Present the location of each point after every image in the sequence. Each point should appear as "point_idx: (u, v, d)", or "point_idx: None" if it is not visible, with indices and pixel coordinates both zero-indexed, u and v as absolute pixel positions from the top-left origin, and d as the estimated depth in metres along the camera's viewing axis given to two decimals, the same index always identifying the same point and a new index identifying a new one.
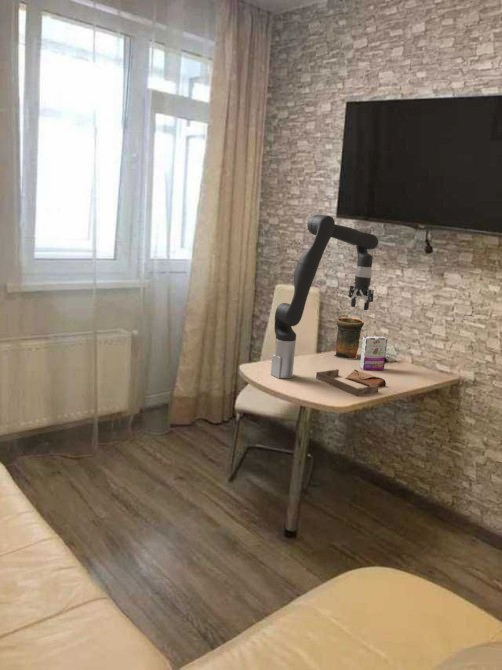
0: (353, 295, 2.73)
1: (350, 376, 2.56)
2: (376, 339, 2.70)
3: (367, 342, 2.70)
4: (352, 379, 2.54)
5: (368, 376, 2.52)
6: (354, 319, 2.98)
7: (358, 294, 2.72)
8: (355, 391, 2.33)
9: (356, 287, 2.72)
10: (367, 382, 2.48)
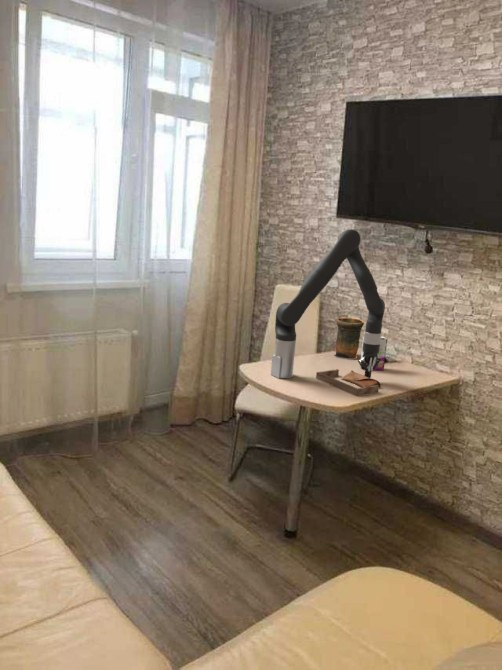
0: None
1: (345, 377, 2.55)
2: None
3: None
4: (347, 380, 2.52)
5: (362, 377, 2.50)
6: (354, 319, 2.98)
7: None
8: (355, 391, 2.33)
9: None
10: (361, 383, 2.46)
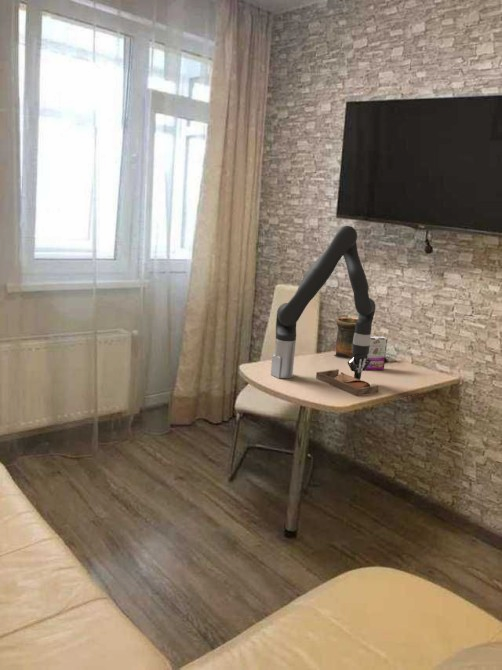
0: None
1: None
2: (376, 339, 2.70)
3: None
4: None
5: (352, 379, 2.45)
6: (354, 319, 2.98)
7: None
8: (355, 391, 2.33)
9: None
10: (351, 385, 2.42)
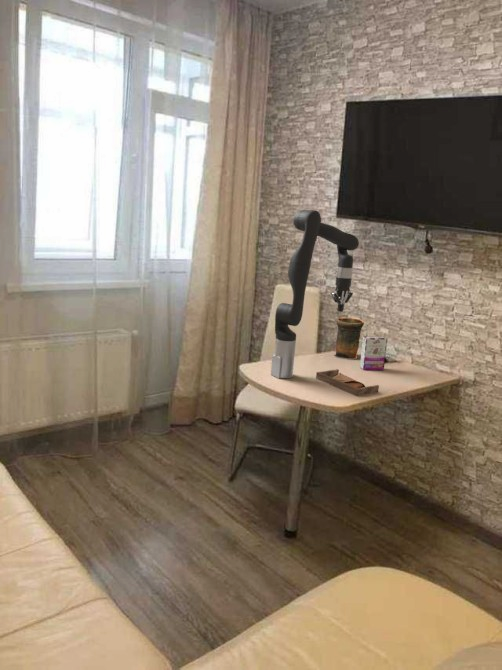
0: (340, 297, 2.75)
1: None
2: (376, 339, 2.70)
3: (367, 342, 2.70)
4: None
5: (348, 379, 2.44)
6: (354, 319, 2.98)
7: None
8: (355, 391, 2.33)
9: None
10: None
